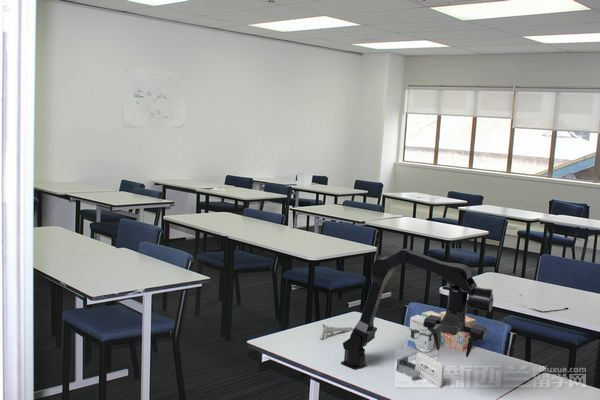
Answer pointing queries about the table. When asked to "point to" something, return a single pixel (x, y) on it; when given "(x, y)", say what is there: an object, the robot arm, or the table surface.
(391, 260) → the robot arm
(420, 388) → the table surface
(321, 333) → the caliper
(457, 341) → the stack of blocks
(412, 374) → the bracket
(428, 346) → the ink box
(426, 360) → the cassette
